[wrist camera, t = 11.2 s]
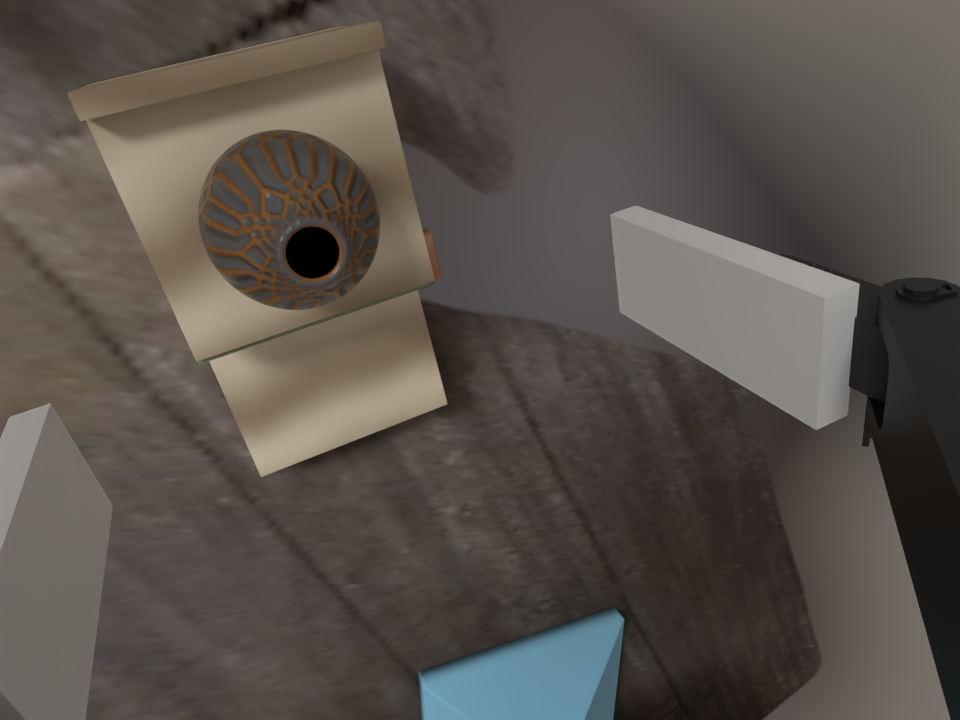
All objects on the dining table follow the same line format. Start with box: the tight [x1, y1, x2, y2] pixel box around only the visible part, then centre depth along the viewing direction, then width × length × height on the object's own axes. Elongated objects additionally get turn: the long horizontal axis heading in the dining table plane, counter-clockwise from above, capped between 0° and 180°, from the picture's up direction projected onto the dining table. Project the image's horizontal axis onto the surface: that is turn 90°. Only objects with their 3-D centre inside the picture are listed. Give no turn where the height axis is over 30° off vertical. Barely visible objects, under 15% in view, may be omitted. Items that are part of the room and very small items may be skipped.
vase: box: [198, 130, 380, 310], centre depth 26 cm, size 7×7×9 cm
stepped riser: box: [67, 21, 447, 477], centre depth 35 cm, size 22×12×10 cm, turn 12°
